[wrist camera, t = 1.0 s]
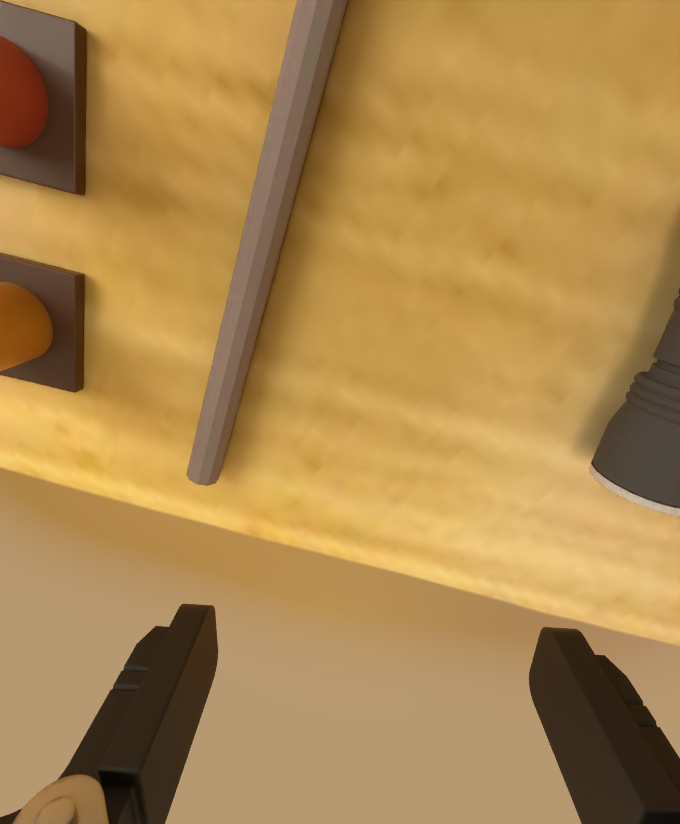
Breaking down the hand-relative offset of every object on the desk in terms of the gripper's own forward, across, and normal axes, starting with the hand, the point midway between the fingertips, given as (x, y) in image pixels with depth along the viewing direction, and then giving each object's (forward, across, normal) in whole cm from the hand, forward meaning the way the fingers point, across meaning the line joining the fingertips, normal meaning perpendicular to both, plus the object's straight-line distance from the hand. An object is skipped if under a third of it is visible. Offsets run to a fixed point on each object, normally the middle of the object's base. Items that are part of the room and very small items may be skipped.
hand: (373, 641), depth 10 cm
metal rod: (+16, +6, -8) cm, 19 cm away
